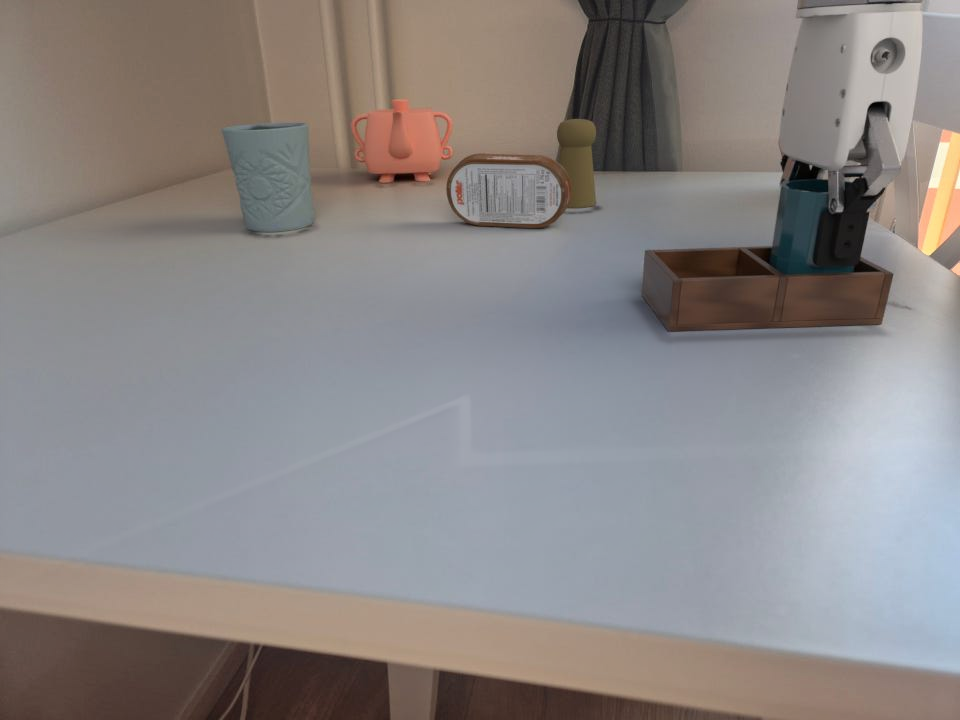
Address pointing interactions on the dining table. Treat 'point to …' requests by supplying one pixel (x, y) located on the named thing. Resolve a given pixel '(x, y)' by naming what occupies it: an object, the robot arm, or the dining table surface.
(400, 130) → the teapot
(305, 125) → the drinking glass
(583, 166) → the pepper mill
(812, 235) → the cup
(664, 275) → the divided wooden box
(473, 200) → the tin
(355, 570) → the dining table surface
